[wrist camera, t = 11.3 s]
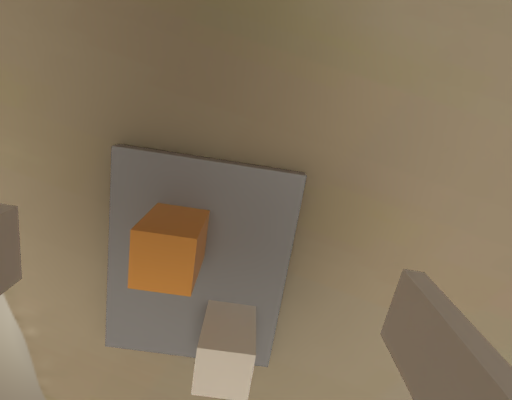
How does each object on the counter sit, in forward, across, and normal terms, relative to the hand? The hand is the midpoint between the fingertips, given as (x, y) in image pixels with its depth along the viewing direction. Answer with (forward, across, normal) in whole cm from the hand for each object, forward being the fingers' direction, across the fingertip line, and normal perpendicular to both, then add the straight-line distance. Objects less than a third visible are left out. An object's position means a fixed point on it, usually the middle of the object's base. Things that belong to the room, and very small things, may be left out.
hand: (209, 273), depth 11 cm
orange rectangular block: (+19, -5, -8) cm, 21 cm away
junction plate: (+21, -3, -11) cm, 24 cm away
